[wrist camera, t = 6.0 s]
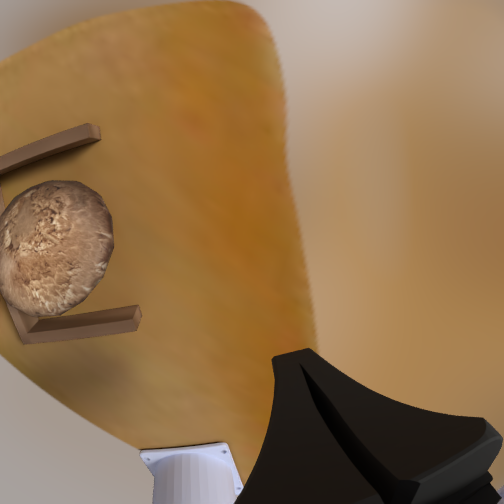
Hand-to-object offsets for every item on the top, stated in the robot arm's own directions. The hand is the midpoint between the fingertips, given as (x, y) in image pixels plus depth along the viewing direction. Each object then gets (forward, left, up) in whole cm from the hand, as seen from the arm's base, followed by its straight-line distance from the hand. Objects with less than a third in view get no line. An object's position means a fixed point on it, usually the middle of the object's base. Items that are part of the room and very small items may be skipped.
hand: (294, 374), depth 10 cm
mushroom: (+5, +11, -10) cm, 16 cm away
